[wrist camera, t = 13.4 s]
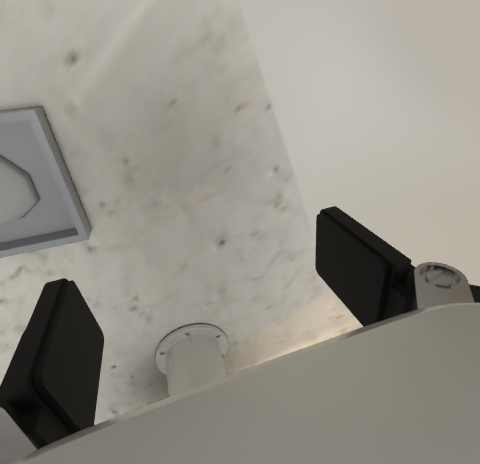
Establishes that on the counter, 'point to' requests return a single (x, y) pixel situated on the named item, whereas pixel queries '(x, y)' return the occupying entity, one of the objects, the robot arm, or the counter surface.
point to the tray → (40, 186)
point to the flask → (15, 192)
